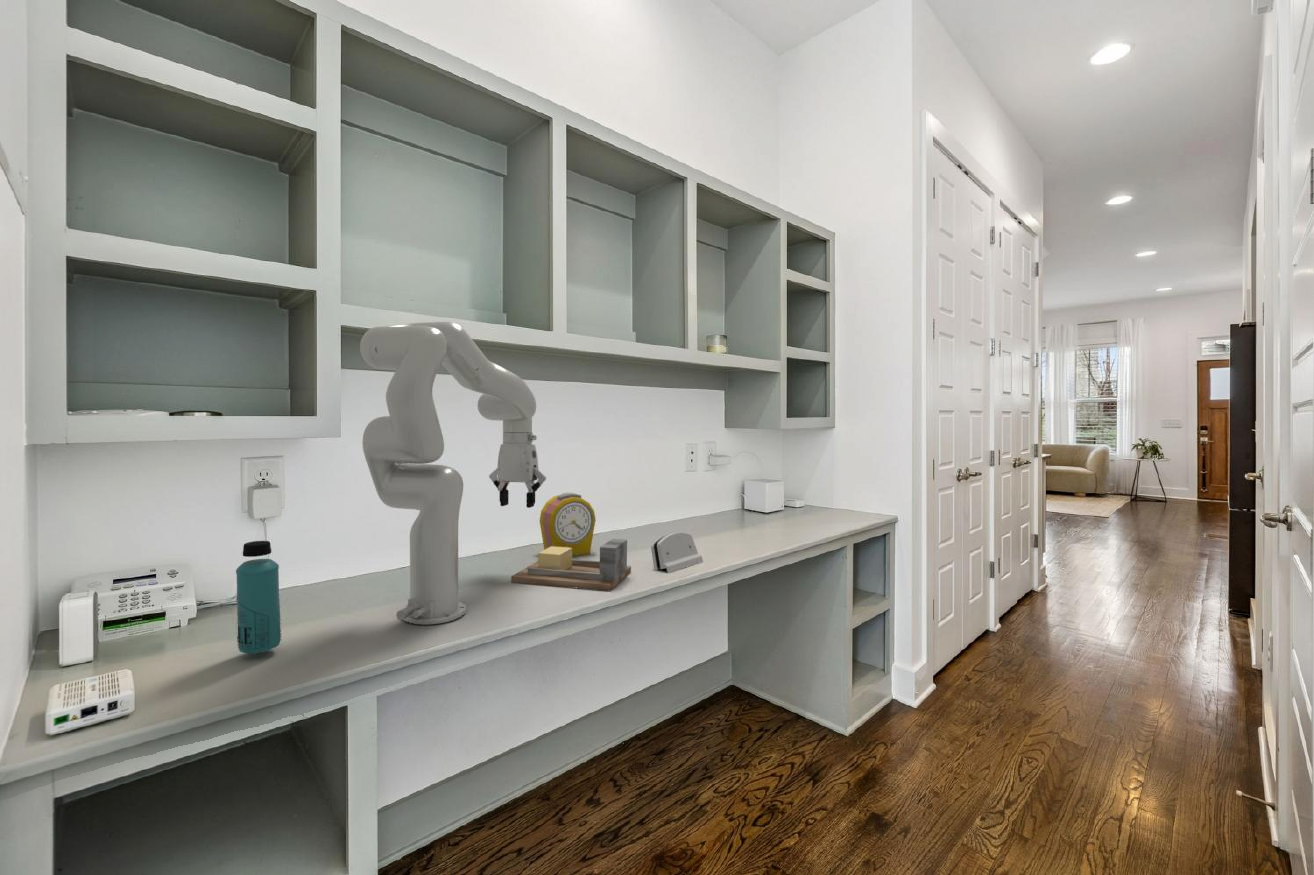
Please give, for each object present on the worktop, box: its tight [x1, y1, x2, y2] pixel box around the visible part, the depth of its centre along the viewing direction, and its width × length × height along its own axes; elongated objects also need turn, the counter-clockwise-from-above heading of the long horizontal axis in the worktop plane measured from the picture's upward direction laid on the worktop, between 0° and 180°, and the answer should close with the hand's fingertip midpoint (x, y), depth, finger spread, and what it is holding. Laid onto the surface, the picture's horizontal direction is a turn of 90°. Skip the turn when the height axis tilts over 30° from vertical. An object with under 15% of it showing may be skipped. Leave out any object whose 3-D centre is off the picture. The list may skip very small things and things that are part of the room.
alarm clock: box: [539, 492, 597, 557], centre depth 180 cm, size 15×8×18 cm, turn 123°
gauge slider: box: [537, 546, 573, 570], centre depth 159 cm, size 13×6×5 cm, turn 166°
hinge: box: [650, 532, 704, 574], centre depth 168 cm, size 17×5×10 cm, turn 141°
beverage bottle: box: [235, 540, 282, 654], centre depth 104 cm, size 6×7×20 cm
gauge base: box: [510, 538, 632, 592], centre depth 155 cm, size 18×26×10 cm
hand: (517, 505), depth 158 cm, fingers open, 6 cm apart
